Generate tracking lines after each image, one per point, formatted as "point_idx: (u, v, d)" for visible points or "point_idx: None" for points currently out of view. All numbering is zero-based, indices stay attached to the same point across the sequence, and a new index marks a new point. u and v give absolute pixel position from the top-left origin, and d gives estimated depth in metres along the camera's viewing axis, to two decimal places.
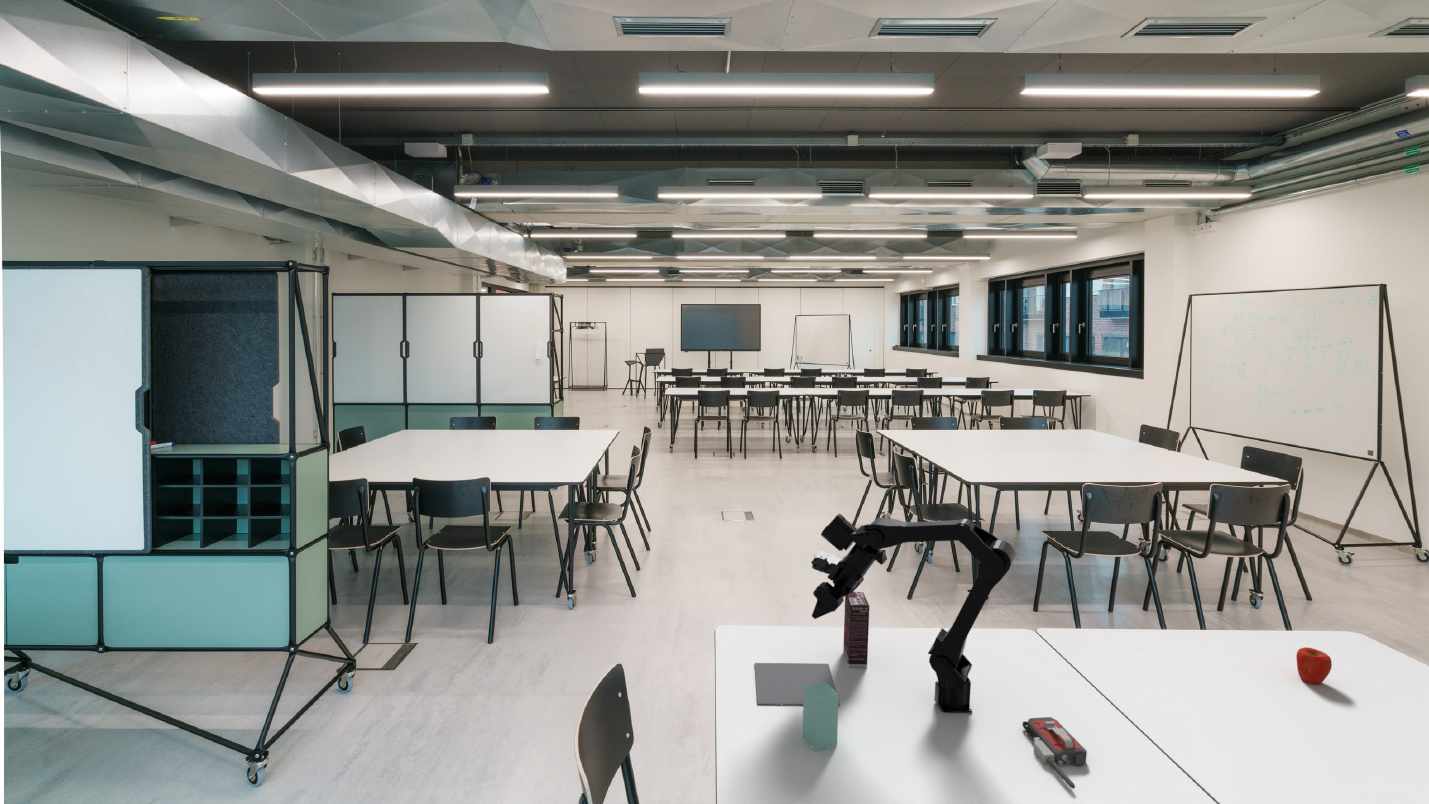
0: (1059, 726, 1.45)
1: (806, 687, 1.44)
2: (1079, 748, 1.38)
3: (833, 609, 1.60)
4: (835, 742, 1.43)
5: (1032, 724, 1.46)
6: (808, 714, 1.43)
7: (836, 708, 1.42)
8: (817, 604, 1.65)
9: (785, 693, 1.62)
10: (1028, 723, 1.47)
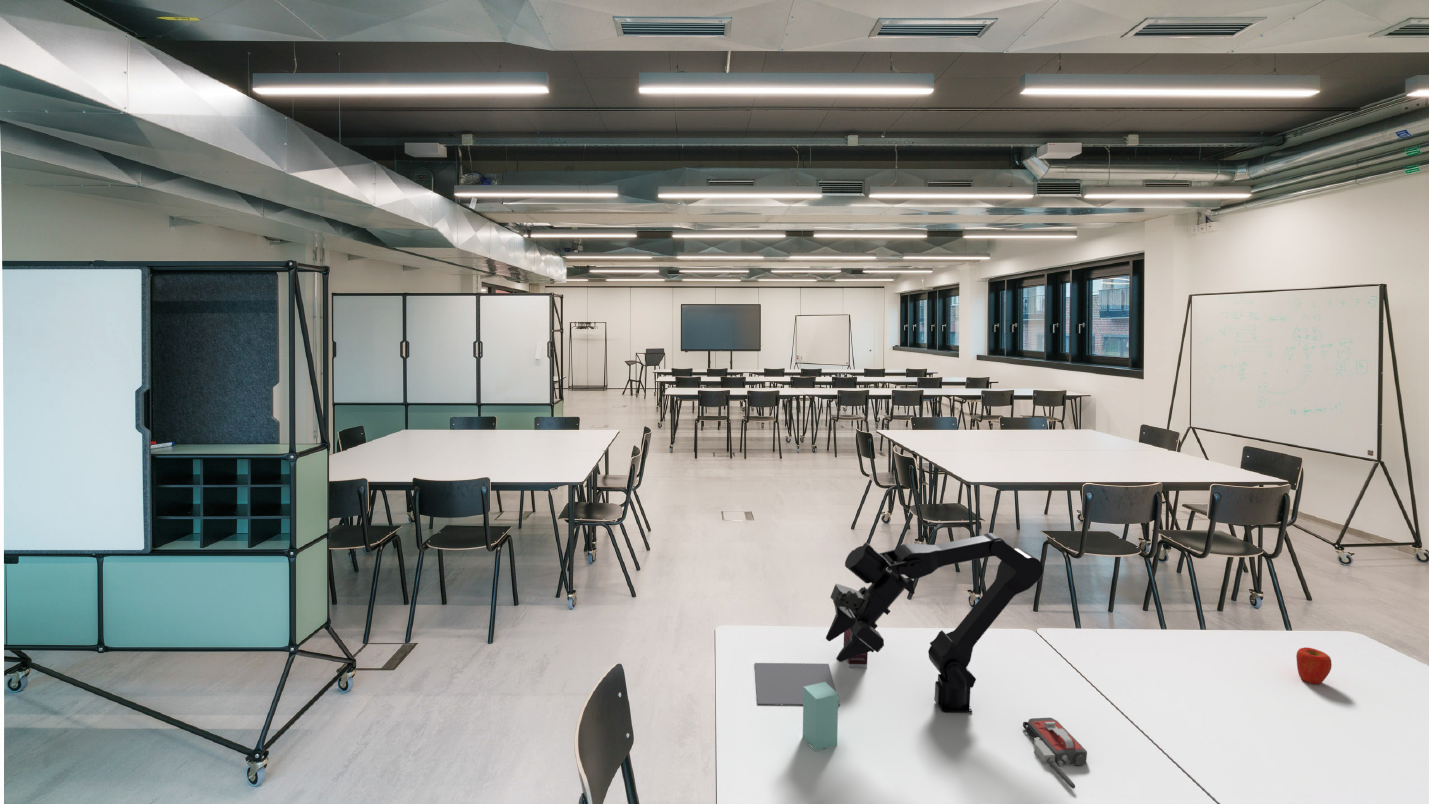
0: (1059, 726, 1.45)
1: (806, 687, 1.44)
2: (1079, 748, 1.38)
3: (878, 650, 1.45)
4: (835, 742, 1.43)
5: (1033, 724, 1.46)
6: (808, 714, 1.43)
7: (836, 708, 1.42)
8: (850, 645, 1.47)
9: (785, 693, 1.62)
10: (1028, 723, 1.47)
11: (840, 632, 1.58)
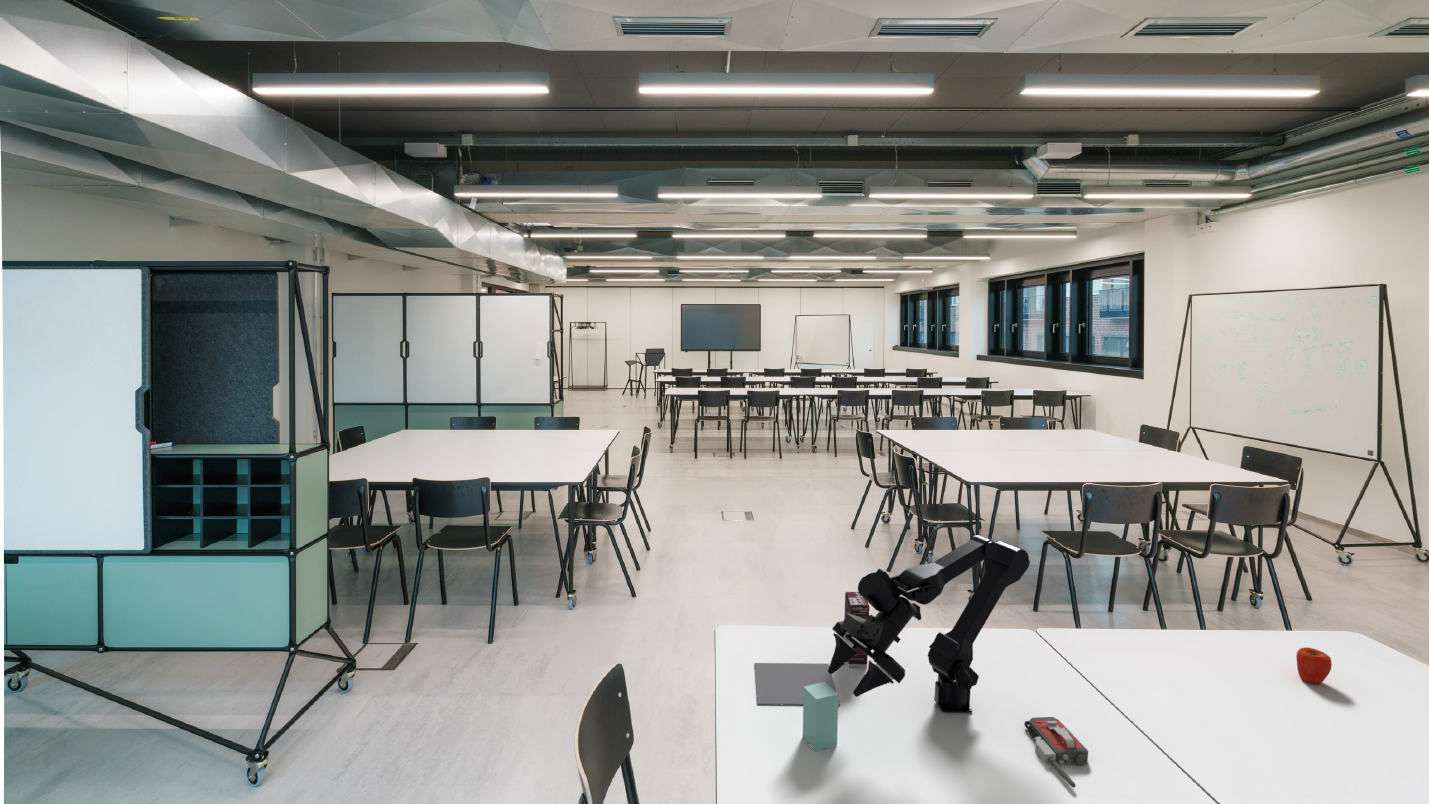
0: (1061, 726, 1.45)
1: (806, 687, 1.44)
2: (1080, 748, 1.38)
3: (900, 681, 1.39)
4: (835, 742, 1.43)
5: (1034, 723, 1.46)
6: (808, 714, 1.43)
7: (836, 708, 1.42)
8: (869, 678, 1.40)
9: (785, 693, 1.62)
10: (1030, 722, 1.47)
11: (842, 664, 1.50)
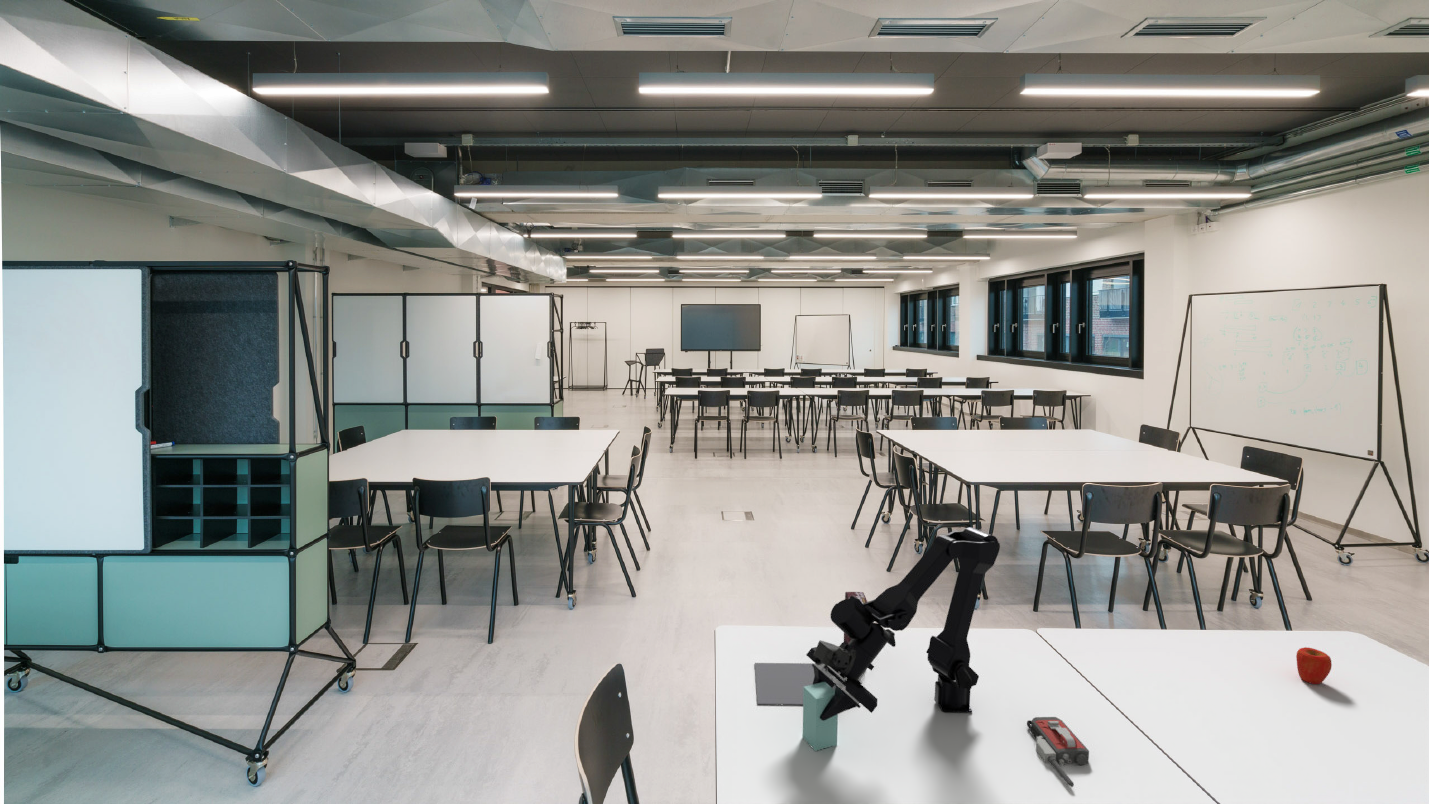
0: (1063, 726, 1.45)
1: (806, 687, 1.44)
2: (1081, 748, 1.38)
3: (873, 710, 1.37)
4: (835, 742, 1.43)
5: (1036, 723, 1.47)
6: (808, 714, 1.43)
7: None
8: (836, 702, 1.40)
9: (785, 693, 1.62)
10: (1032, 722, 1.48)
11: None
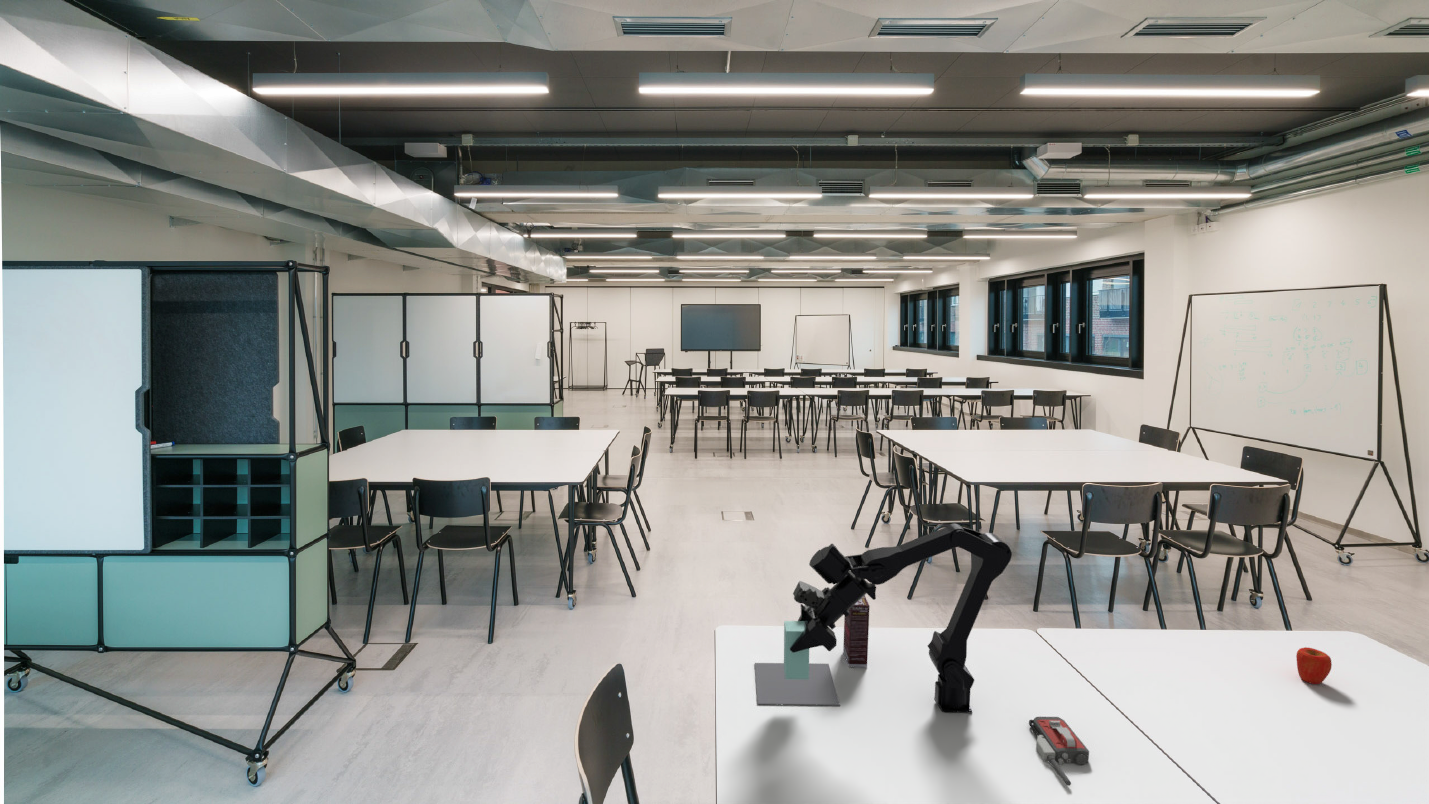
0: (1065, 726, 1.46)
1: (786, 621, 1.58)
2: (1081, 748, 1.38)
3: (830, 649, 1.47)
4: (806, 676, 1.55)
5: (1038, 722, 1.47)
6: None
7: None
8: (803, 637, 1.52)
9: (785, 693, 1.62)
10: (1034, 721, 1.48)
11: None
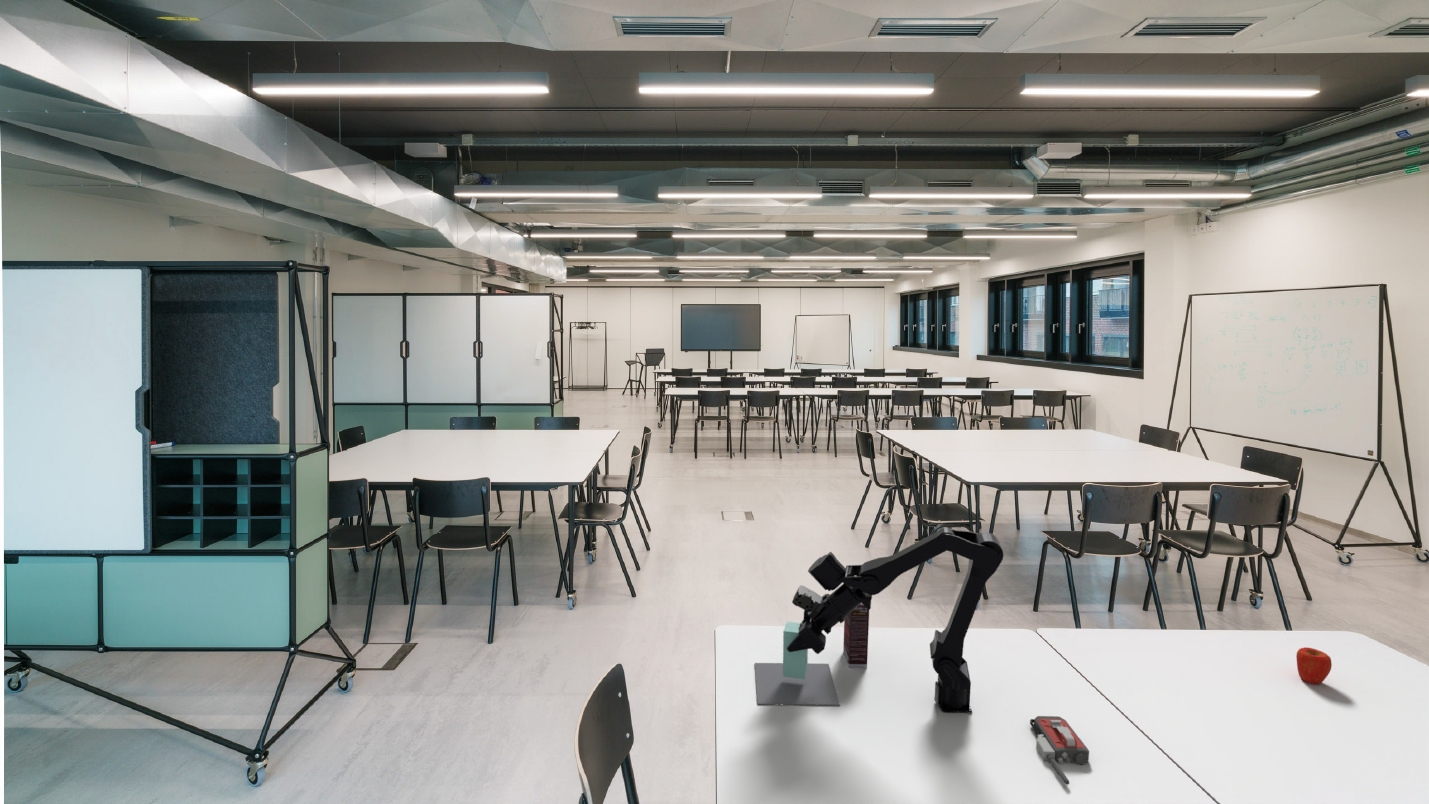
0: (1066, 725, 1.46)
1: (788, 622, 1.67)
2: (1081, 747, 1.38)
3: (818, 652, 1.55)
4: (803, 676, 1.63)
5: (1039, 722, 1.47)
6: None
7: None
8: (798, 639, 1.61)
9: (785, 693, 1.62)
10: (1035, 720, 1.48)
11: None
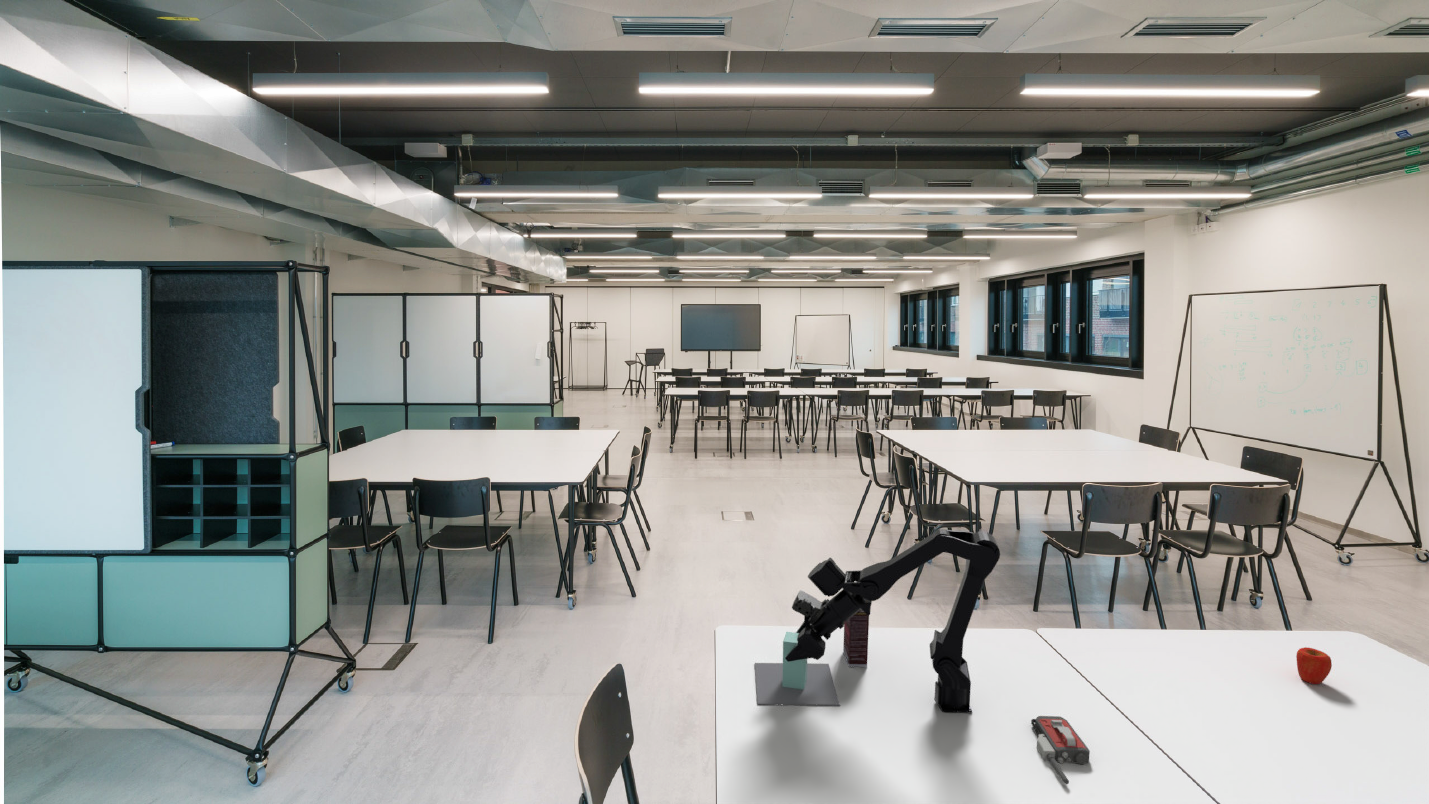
0: (1067, 725, 1.46)
1: (787, 632, 1.68)
2: (1082, 747, 1.38)
3: (817, 658, 1.55)
4: (802, 686, 1.64)
5: (1040, 721, 1.47)
6: None
7: None
8: (796, 648, 1.59)
9: (785, 693, 1.62)
10: (1036, 720, 1.48)
11: None
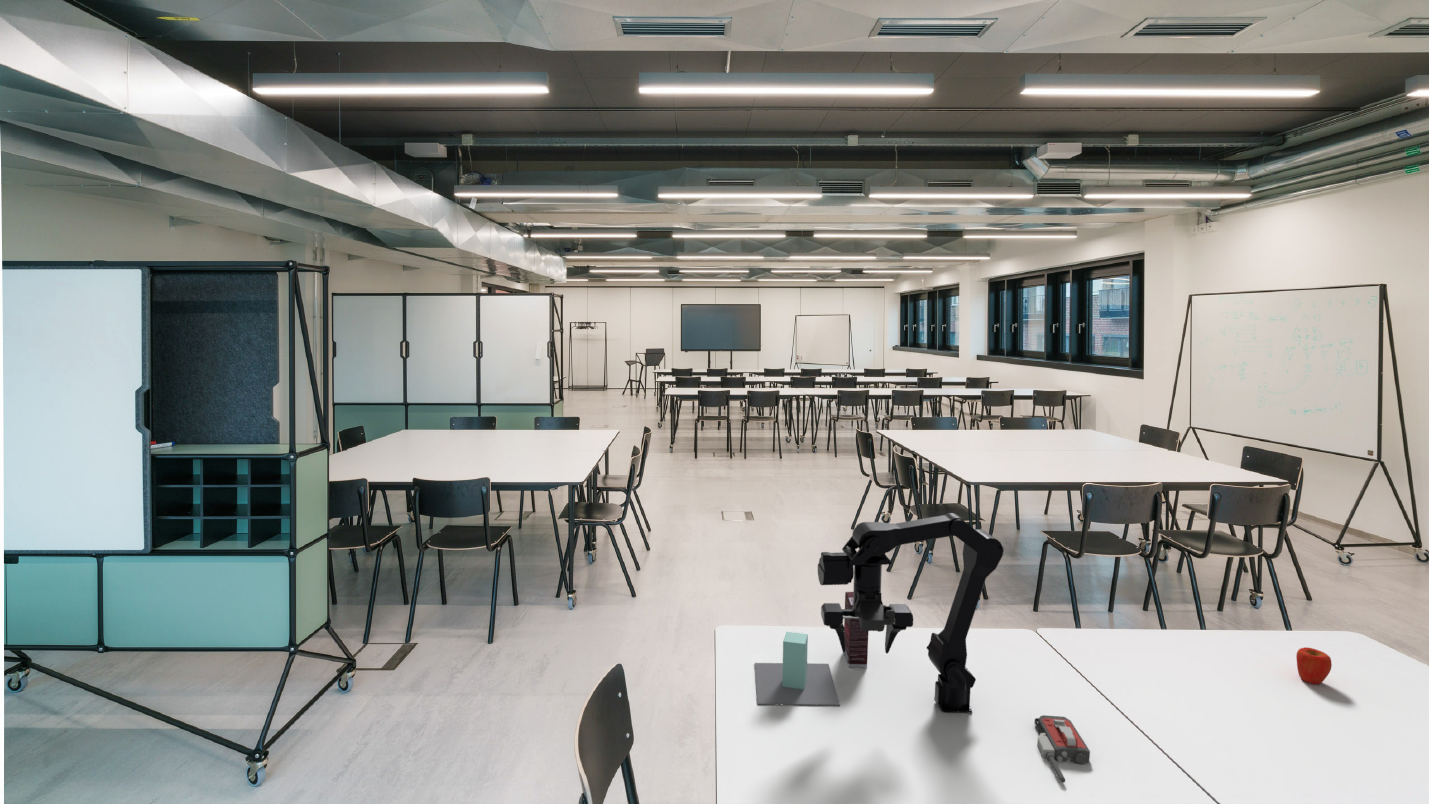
0: (1070, 726, 1.46)
1: (787, 632, 1.68)
2: (1082, 747, 1.39)
3: None
4: (802, 686, 1.64)
5: (1042, 721, 1.48)
6: None
7: (803, 656, 1.63)
8: None
9: (785, 693, 1.62)
10: (1039, 719, 1.49)
11: None
